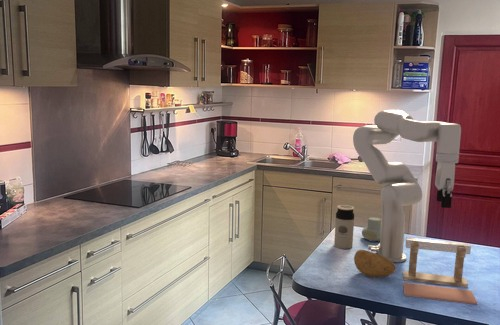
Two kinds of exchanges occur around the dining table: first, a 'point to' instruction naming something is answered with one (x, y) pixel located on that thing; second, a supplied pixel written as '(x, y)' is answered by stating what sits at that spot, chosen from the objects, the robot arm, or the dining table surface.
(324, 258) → the dining table surface
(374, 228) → the air freshener
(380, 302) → the dining table surface
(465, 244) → the steel bar
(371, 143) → the robot arm
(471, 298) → the terracotta mat
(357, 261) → the potato
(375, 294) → the dining table surface
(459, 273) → the hook stand
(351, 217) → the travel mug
